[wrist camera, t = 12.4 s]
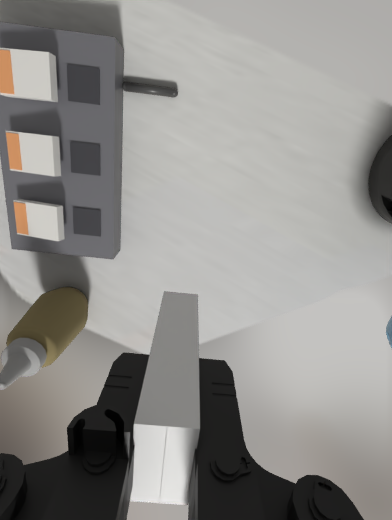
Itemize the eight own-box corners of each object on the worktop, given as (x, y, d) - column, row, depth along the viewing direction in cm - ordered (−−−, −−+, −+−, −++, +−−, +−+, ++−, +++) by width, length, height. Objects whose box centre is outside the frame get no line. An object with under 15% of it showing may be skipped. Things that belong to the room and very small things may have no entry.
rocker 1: (55, 56, 30) (48, 51, 29) (57, 102, 32) (50, 100, 31) (3, 51, 31) (-6, 46, 30) (8, 97, 32) (-1, 94, 31)
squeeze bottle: (38, 284, 46) (-54, 360, 29) (86, 275, 45) (21, 348, 28) (56, 326, 49) (-19, 418, 32) (101, 319, 48) (50, 408, 31)
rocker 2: (62, 205, 36) (56, 207, 35) (64, 239, 37) (58, 241, 36) (20, 198, 37) (12, 200, 35) (24, 231, 38) (16, 234, 37)
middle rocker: (59, 136, 33) (51, 135, 32) (61, 176, 34) (53, 176, 33) (13, 131, 34) (4, 130, 33) (17, 169, 35) (9, 170, 34)
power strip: (180, 57, 35) (178, 43, 31) (165, 254, 44) (162, 265, 40) (6, 34, 34) (-21, 16, 30) (27, 240, 43) (9, 250, 39)
